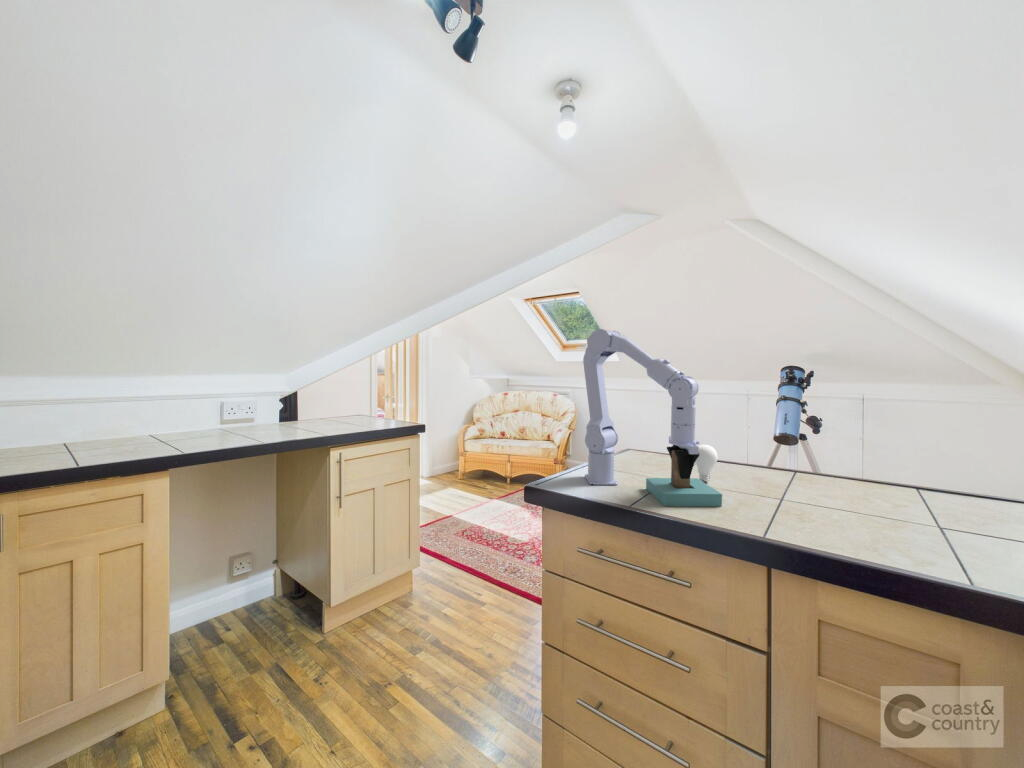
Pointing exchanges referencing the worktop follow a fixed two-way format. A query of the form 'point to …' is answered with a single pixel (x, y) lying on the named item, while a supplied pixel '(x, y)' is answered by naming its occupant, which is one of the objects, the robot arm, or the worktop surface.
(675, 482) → the peg
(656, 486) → the socket block
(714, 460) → the light bulb
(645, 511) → the worktop surface
